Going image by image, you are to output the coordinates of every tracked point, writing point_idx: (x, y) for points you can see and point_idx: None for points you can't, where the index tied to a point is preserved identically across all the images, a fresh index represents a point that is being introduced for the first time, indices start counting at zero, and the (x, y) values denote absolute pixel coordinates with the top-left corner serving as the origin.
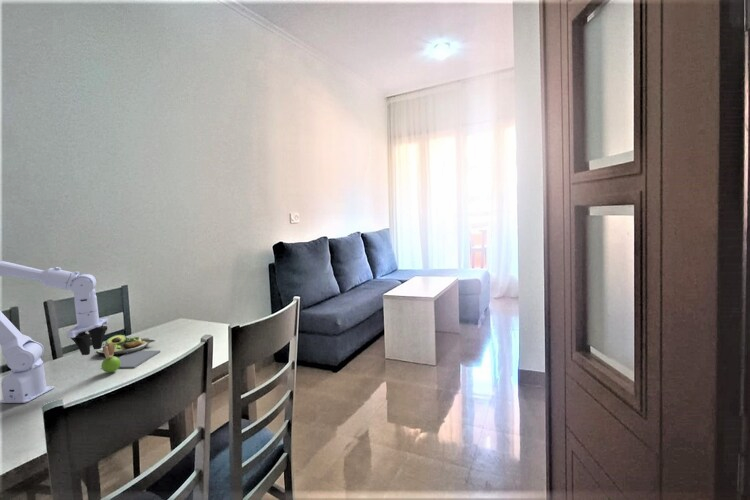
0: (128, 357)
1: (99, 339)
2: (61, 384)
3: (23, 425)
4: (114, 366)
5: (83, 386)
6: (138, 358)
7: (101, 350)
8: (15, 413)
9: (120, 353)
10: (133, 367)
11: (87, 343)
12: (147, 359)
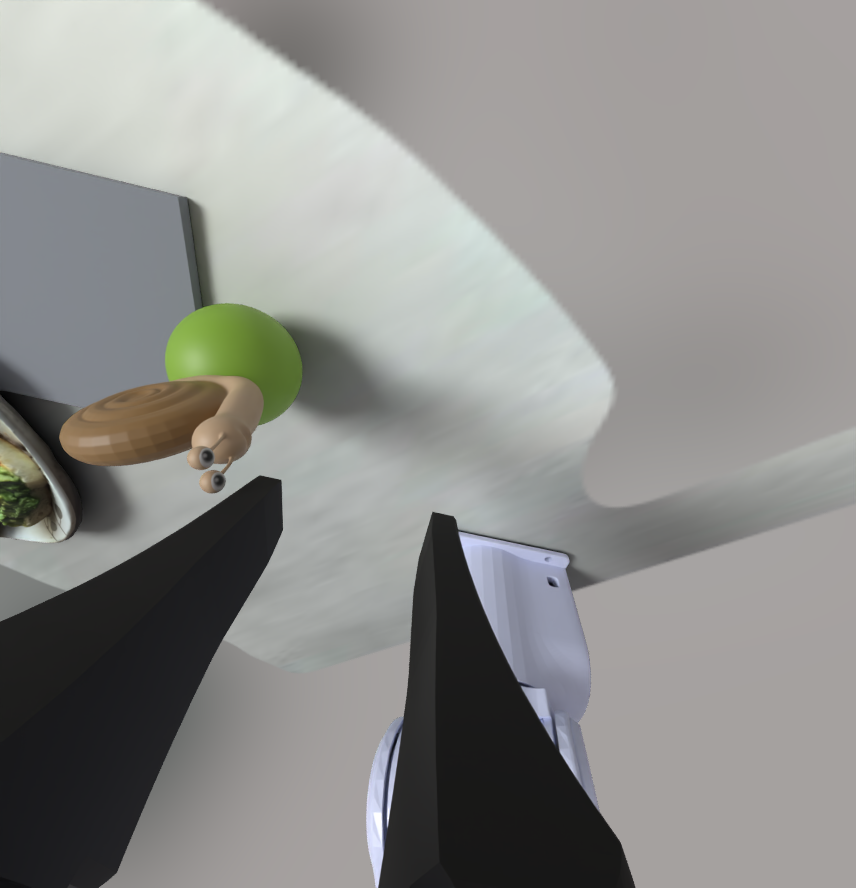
0: (49, 343)
1: (199, 578)
2: (402, 518)
3: (842, 468)
4: (269, 323)
5: (453, 414)
6: (34, 251)
7: (42, 525)
8: (659, 546)
9: (24, 421)
10: (185, 208)
11: (485, 653)
12: (12, 155)
